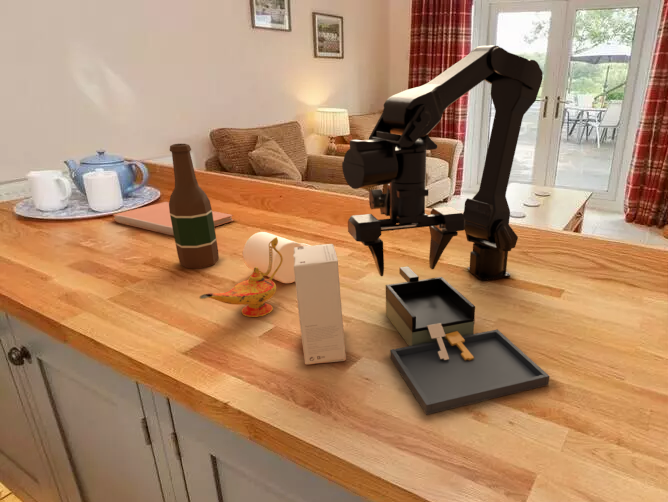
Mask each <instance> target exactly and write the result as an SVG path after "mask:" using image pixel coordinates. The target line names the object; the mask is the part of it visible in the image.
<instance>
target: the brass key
mask: <svg viewBox="0 0 668 502" xmlns="http://www.w3.org/2000/svg"><path fill="white" fill-rule="evenodd" d="M445 335H446V337H445V338H446V339H447V340H448V342H449V343H450V344H451V345H452V346H453V345H457V346H458V348H459V349H460V350H461V351H462V353H461V356H462V357H463V359H464V360H469V361H470V360H473V359H474V357H473V355H472V354H471V353H470V352H469V351H468V349H467V348H466V347H465V346H464V344H463V342H465V340H464V338H463V337H462V336H461V335H460V334H459V332H458V331H455V332H452V333H448V334H445Z"/></svg>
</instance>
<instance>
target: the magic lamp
mask: <svg viewBox="0 0 668 502" xmlns="http://www.w3.org/2000/svg"><path fill="white" fill-rule="evenodd" d="M270 243H271V245H272V247H271V246H270ZM270 243H269V266H270V267H269V266H268V269H269V268H272V262H271V261H272V259H273V258H272V257H273V256H272V254H273V253H272V252H270V251H272V249H270V248H273V249H274V250H275V251H276V252H277V253H278V254H279V255H280V257H281V261H280V264H279V266H278V267H277V269H276V270H275V272H274V273H273V274H272V276H271V277H268V276H267V275H268V274H269V273H270V272H269V271H271V269H269V270H267V272H265V273H263V272H261V271H259V269H258V267H255V268H254V270H252V274H250V276H249V278H248V279H246V280H243V281H241V282H238V283H236V284H235V285H234V286H233V287H232V288H231V289H230V290H229V291H227V292H223V293H222V292H209V293H203V294H201V295H200V296H199V299H200V300H205V299H212V300H215V301H218V302H221V303H224V304H228V305H236V306H237V305H238V306H239V305H240V306H243V305H246V306H244V307H242V309H241V315H243V316H245V317H250V318H257V317H264V316H265V315H268V314H270V313H271V312H272V311H273V310H274V307H273V306H272V305H271V304H270V303H266V301H268V300H270V299H271V298H272V297H274V295H275V294H276V291H277V285H276V281H273V277H274V275H275V274H276V272H277V271H278V269H279V267H280V266H281V264H282V261H283V258H282V255H281V253H280V252H279V251H278V250H277V249H276V248H275V247H276V245H277V244H278V239H277V237H276V238H274V239H273V240H272V241H271V242H270ZM271 253H272V254H271ZM270 256H272V257H270ZM270 258H272V259H270ZM260 272H261V273H260ZM266 274H267V275H266ZM264 277H268V278H264Z"/></svg>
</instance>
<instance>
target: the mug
mask: <svg viewBox="0 0 668 502" xmlns="http://www.w3.org/2000/svg"><path fill="white" fill-rule="evenodd" d="M276 237H277V239H278V244H277V245H276V247H275V248H276V249H277V250H278V251H279V252H280V253H281V255H282V258H283V261H282V264H281V266H280V267H279V269H278V271H277V272H276V274H275V275H274V277H273V278H272V280H275V281H278V282H279V283H283V284H291V283H292V284H293V283H295V274H294V257H293V255H294V248H295V247H303V246H311V245H310V244H308V243H303V242H297V241H294V240H292V239H287V238H285V237H283V236H279V235H276V234H274V233H270V232H267V231H257V232H255V233H254V234H252V235H251V236H250V237H249V238H248V239H247V240H246V242H245V243H244V246H243V249H242V258H243V262H244V263H245V265H246V266H247V267H248V269H250V270H251V271H254V268H255V267H258V269H259V271H261V272H263V273H265V272H267V270H269V269H271V271H269V272H270V273H269V274H268V275H267V274H266V275H267V276H266V277H268V278H270V277H271V276H272V274H273V273H274V272H275V270H276V269H277V267H278V266H279V264H280V261H281V257H280V255H279V254H278V253H277V252H276V251H275V250H274V249H273V248H270V249H272V251H270V252H272V253H273V254H272V253H271V254H272V256H273V257H272V256H270V257H272V258H273V259H272V258H270V259H272V261H271V262H272V268H269V269H268V266H269V243H270V242H271V241H272V240H273V239H274V238H276ZM270 246H271V247H272V245H271V243H270ZM269 267H270V266H269ZM261 272H260V273H261Z"/></svg>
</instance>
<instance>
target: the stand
mask: <svg viewBox="0 0 668 502" xmlns="http://www.w3.org/2000/svg"><path fill="white" fill-rule="evenodd" d="M385 317H387V319H388V320H389V321H390V323H391V324H392V325H393V327H394V328H395V329H396V331H397V332H398V334H399V335H400V336H401V338H402V339H403V340H404V342H405V343H406V344H407V347H408V346H413V345H418V344H423V343H429V342H434V341H436V339H433V340H431V338H430V335H429V332H428V330H423V331H417V332H412V331H411V330H410V329H409V328H408V326H407V325H406V324H405V323H404V321H403V320H402V319H401V317H400V316H399V315H398V314H397V312H396V311H395V310H394V309H393V307H392V306H391V305H390V303H389V302H388V301H387V300H386V299H385ZM443 330H444V333H445V334H448V333H452V332H455V331H458V332H459V334H460V335H461V336H465V335H470V334H475V333H474V332H475V331H474V330H475V320H474V321H472V322H467V323H461V324H456V325H450V326H445V327H443ZM444 339H446V338H445V337H444V338H442V340H444Z"/></svg>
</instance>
